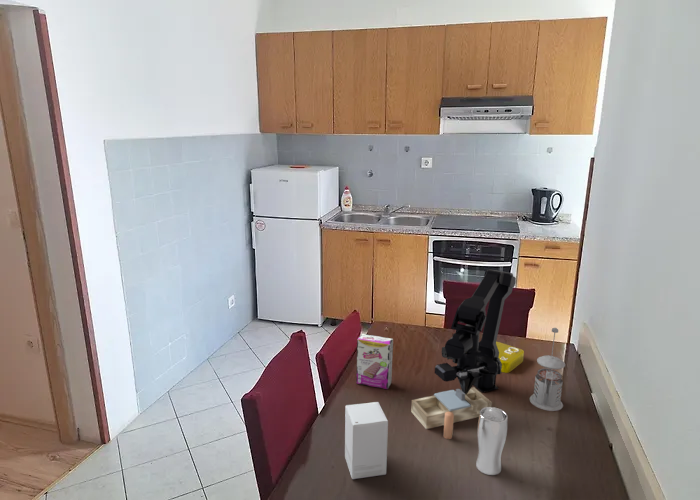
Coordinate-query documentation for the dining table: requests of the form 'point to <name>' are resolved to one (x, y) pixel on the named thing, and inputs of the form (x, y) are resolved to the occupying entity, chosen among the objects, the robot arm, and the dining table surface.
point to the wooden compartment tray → (434, 411)
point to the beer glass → (491, 439)
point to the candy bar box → (374, 361)
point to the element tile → (509, 356)
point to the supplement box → (366, 440)
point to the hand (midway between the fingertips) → (464, 393)
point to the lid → (453, 399)
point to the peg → (448, 425)
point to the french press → (548, 383)
